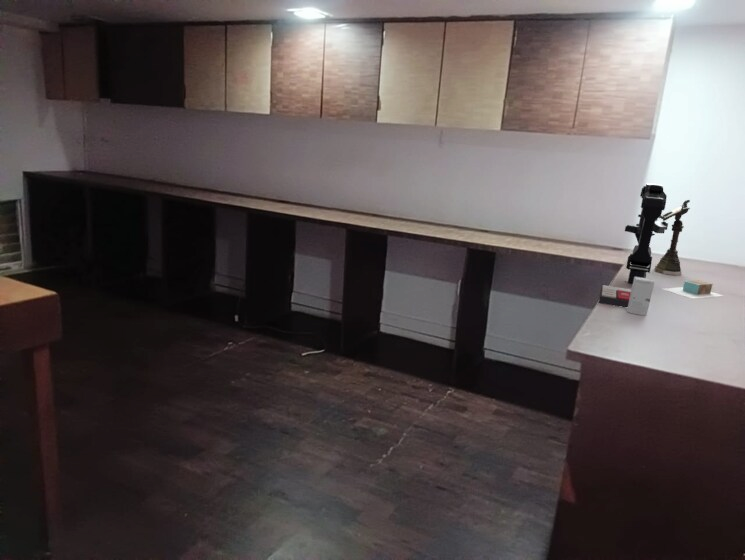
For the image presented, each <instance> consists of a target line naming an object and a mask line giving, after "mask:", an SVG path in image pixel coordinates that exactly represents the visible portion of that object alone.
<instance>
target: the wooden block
mask: <svg viewBox="0 0 745 560" xmlns="http://www.w3.org/2000/svg"><path fill="white" fill-rule="evenodd" d="M682 287H683V291H686V292H689V293H693V294H696V295H698V294H709V293H711V292H712V289H713V283H711V282H707V281H703V280H700V279H694V280H693V279H692V280H685V281H684V283H683V286H682Z"/></svg>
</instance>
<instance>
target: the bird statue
mask: <svg viewBox="0 0 745 560" xmlns="http://www.w3.org/2000/svg"><path fill="white" fill-rule="evenodd" d="M690 201H691V200H690V199H686V200H684V202H683V203H682V205H680V207H677V208H675V209H674V210H668V211H667V212H665V213H662V214H661V216H660V217H659V218H658V219H661V220H662V222H663V221H668V219H670V218H673V217H674V219H675V221H673V223H672V224H671V231H672V237H671V239H670V247H669V248H668V249H667V250H666V252H665V254H664V255H663V256H662V257H661V258H660V260H659V261H658V263H657V264H656V265H655V267H654V272H656V273H657V272H658V273H661V274H664V275H670V276H682V268H681V261H680V259H679V256H678V255H679V254H678V253H679V251H678V250H677V245H678V243H679V236H680V233H681V232H683V229H684V224H683V221H682V220H681V218H682V216H683V215H685V214H687V213H688V212H689V210H690V209H691V208H690V207H688V203H690Z"/></svg>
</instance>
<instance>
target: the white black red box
mask: <svg viewBox="0 0 745 560" xmlns="http://www.w3.org/2000/svg"><path fill="white" fill-rule="evenodd" d="M631 290H632V289H628V288H623V287H618V286H617V287H616V286H612V285H607V284H606V285H604V284H603V285H601V286H600V290H599V299H598V303H599V304H602V305H609V306H613V305H615V306H614V307H619V306H622V307H621V308H625V307H628V303H629V299H630V294H631Z"/></svg>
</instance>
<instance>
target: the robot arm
mask: <svg viewBox="0 0 745 560" xmlns="http://www.w3.org/2000/svg"><path fill="white" fill-rule="evenodd" d="M667 197H668V196H667V194H666V193H665V191H664V185H662V184H658V183H657V184H656V183H648V182H646V183H645V185H644V186H643V187H642V188H641V191H640V198H641V203H640V204H641V205H640V208H641V210H640V214H639V213H638V215H637V217H638V218H639V221H638V223H636V224H627V225H626V226H625V228H624V232H627V233H632V234H634V235H635V239H636V240H637V244H636V245H634V248H633V250H632V253H630V255H629V256H628V257H627V261H626V265H625V269H627V270H629V275H628V280H627V281H625V280H624V283H627V284H631V285H633V281H634V277H640V278H646V279H647V273H649V274H650V272H651V267H652V262H653V261H652V260H653V256H652V249H651V248H652V247H651V246H650V244H651V240H652V237H653V236H655V235H656V234H664V233H665V231H666V230H668V227H669V222H667V220H665V221H663V220H662V221H658V219H660V218H659V217H660V216H661V215H663V211H665V209H666V203H667ZM653 232H654V233H653Z"/></svg>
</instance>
